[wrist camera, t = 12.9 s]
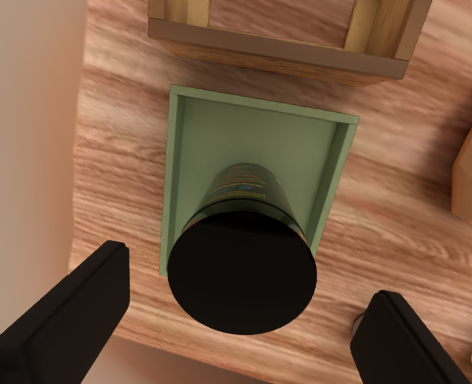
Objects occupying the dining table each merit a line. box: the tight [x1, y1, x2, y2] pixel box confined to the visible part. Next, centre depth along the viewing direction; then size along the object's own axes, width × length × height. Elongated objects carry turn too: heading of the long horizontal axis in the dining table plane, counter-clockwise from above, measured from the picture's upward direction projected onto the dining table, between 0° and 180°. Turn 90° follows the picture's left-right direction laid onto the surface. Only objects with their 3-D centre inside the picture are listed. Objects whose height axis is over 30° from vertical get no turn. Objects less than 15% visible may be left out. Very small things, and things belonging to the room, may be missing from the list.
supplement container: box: [167, 163, 317, 335], centre depth 15 cm, size 7×7×10 cm
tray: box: [159, 84, 360, 277], centre depth 19 cm, size 16×13×3 cm
